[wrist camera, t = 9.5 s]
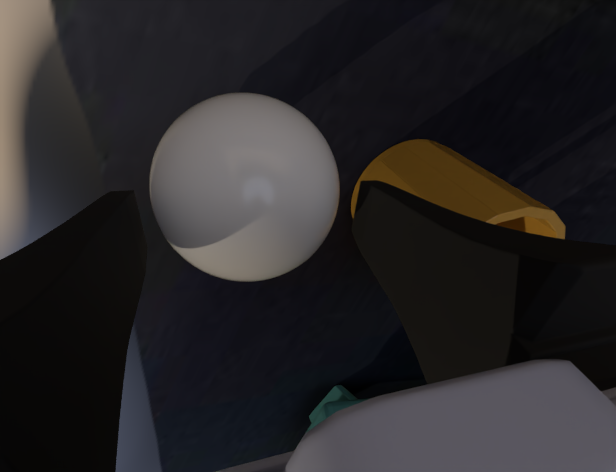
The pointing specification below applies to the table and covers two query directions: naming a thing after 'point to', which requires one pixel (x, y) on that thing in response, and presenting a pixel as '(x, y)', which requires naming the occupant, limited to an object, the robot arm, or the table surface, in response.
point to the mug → (459, 187)
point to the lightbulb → (244, 187)
